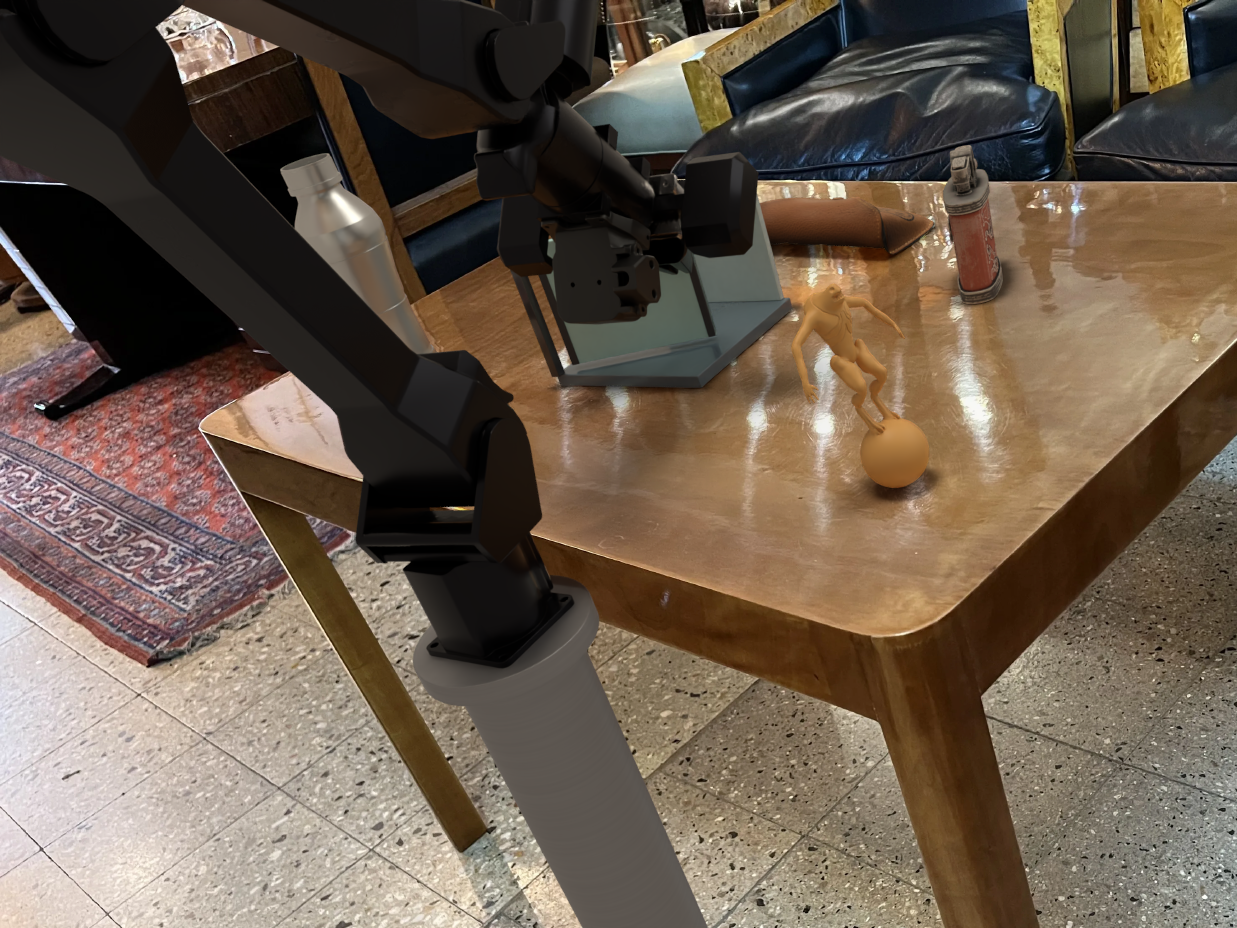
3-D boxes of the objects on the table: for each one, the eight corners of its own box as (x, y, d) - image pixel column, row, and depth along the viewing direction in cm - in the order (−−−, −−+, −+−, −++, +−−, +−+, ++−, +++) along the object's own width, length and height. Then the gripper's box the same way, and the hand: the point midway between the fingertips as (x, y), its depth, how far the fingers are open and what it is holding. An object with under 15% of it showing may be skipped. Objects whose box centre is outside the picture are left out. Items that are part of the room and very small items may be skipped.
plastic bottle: (365, 433, 95) (239, 182, 84) (417, 394, 100) (305, 152, 89) (426, 432, 93) (303, 172, 81) (476, 391, 97) (368, 141, 86)
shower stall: (697, 391, 87) (651, 245, 81) (556, 388, 94) (503, 253, 88) (793, 308, 97) (758, 171, 90) (658, 311, 104) (617, 184, 97)
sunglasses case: (941, 217, 105) (907, 164, 100) (911, 283, 104) (874, 234, 99) (790, 216, 116) (752, 169, 111) (761, 276, 115) (721, 231, 109)
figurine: (883, 525, 66) (835, 321, 59) (805, 506, 69) (751, 313, 63) (969, 453, 70) (933, 256, 63) (891, 439, 74) (849, 252, 67)
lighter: (962, 268, 95) (940, 140, 90) (1004, 260, 95) (985, 131, 89) (956, 306, 89) (932, 172, 83) (1001, 299, 88) (980, 162, 83)
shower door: (715, 336, 92) (678, 212, 86) (572, 365, 93) (527, 246, 88) (717, 332, 92) (680, 209, 87) (574, 361, 94) (529, 243, 89)
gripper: (428, 299, 76) (566, 379, 91) (685, 274, 69) (790, 365, 84) (446, 135, 77) (580, 240, 92) (701, 96, 71) (802, 215, 85)
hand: (683, 267), depth 88 cm, fingers closed
